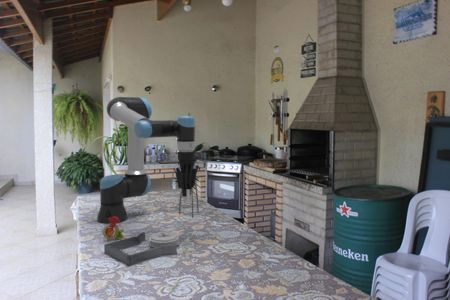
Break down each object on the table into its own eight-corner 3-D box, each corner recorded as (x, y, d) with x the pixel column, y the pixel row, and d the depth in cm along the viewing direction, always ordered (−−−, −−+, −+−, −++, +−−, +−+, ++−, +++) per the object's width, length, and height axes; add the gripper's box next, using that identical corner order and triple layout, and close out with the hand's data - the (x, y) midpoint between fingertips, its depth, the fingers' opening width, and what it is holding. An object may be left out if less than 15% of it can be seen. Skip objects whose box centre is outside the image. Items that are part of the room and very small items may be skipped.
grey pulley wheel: (165, 238, 171) (165, 227, 171) (184, 244, 163) (184, 233, 163) (142, 246, 162) (142, 234, 161) (162, 253, 154) (162, 241, 153)
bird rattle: (110, 247, 165) (129, 236, 169) (99, 226, 162) (118, 215, 165) (107, 243, 170) (125, 232, 174) (96, 222, 167) (115, 212, 171)
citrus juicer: (193, 217, 205) (193, 162, 202) (175, 216, 207) (175, 162, 204) (198, 212, 216) (198, 160, 213) (182, 211, 218) (181, 159, 215)
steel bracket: (101, 251, 155) (100, 242, 154) (144, 239, 169) (144, 231, 169) (133, 268, 138) (133, 258, 137) (178, 253, 152) (177, 245, 152)
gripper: (180, 152, 160) (180, 207, 162) (202, 150, 169) (203, 202, 172) (169, 151, 165) (169, 204, 168) (191, 149, 175) (192, 199, 177)
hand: (186, 203), depth 170 cm, fingers closed
